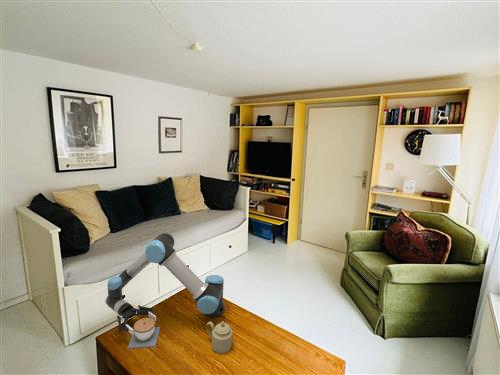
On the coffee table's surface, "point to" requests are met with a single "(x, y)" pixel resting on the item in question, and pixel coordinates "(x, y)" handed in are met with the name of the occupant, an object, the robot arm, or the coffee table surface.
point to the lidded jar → (144, 328)
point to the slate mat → (147, 343)
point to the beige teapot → (220, 337)
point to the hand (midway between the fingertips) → (144, 325)
